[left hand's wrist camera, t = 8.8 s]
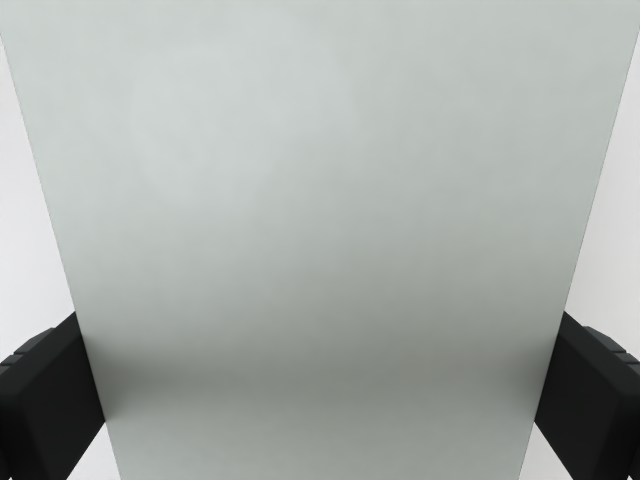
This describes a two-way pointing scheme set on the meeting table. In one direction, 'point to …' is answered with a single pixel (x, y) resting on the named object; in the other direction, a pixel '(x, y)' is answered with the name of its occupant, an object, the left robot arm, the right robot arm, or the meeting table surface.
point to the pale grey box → (319, 220)
